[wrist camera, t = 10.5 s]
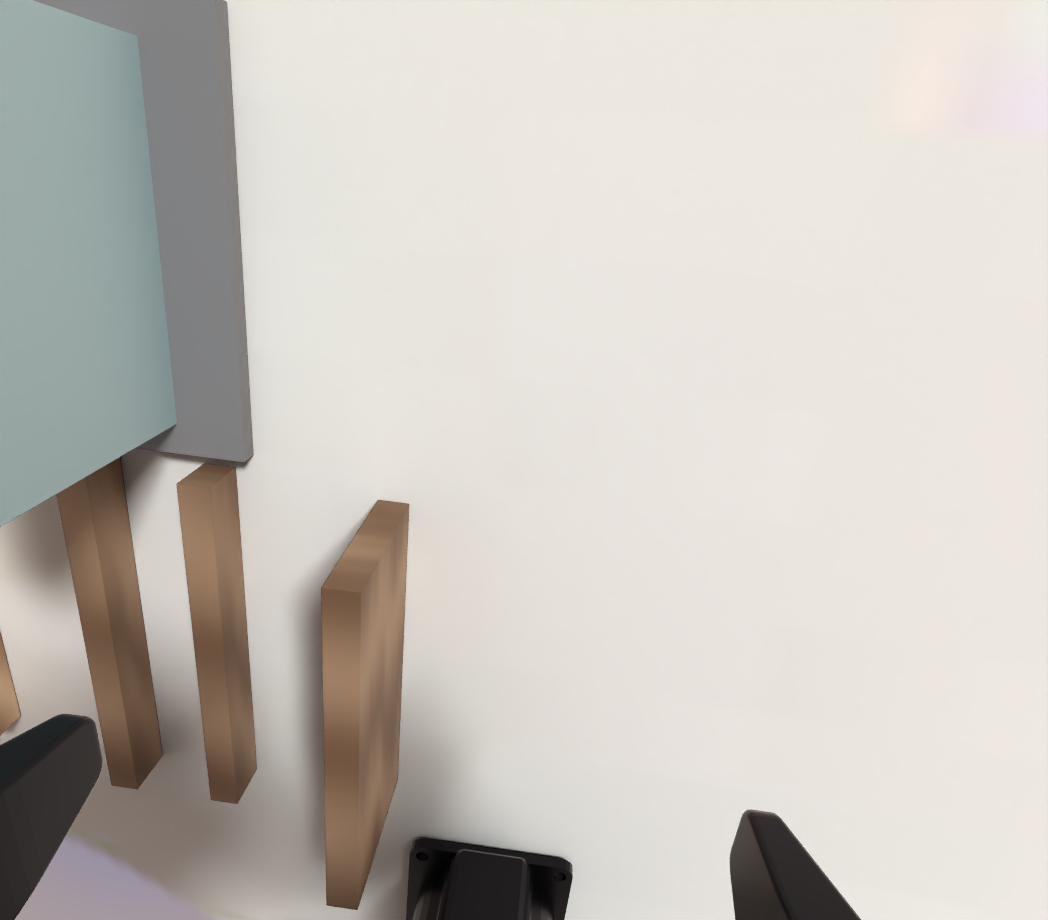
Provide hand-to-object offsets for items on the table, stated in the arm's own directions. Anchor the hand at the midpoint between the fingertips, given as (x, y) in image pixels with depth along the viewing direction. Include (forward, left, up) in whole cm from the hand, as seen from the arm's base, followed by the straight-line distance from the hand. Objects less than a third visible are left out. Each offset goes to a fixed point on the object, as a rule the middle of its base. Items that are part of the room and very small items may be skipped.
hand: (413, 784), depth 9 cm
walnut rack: (-8, +8, -12) cm, 17 cm away
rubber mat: (+5, +11, -12) cm, 17 cm away
